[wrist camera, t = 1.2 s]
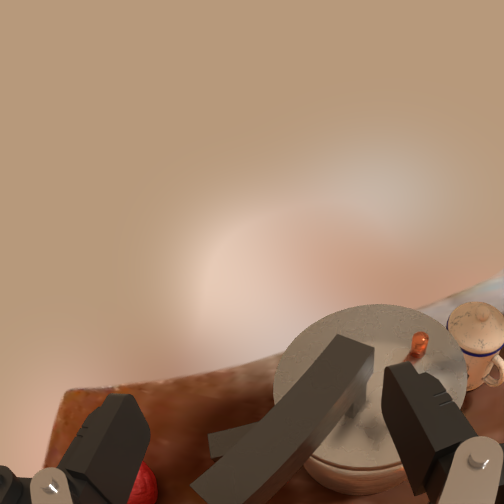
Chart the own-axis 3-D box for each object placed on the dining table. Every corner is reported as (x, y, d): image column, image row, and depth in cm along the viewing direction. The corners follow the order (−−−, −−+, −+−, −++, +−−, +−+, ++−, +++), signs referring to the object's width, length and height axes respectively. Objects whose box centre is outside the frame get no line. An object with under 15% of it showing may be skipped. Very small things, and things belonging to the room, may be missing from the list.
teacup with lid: (424, 362, 37) (436, 303, 31) (467, 335, 38) (482, 277, 32) (467, 419, 27) (497, 368, 21) (510, 385, 27) (541, 328, 21)
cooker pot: (396, 357, 40) (402, 297, 34) (457, 450, 24) (492, 404, 18) (227, 419, 38) (195, 371, 33) (251, 534, 23) (213, 521, 17)
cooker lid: (341, 297, 37) (333, 232, 32) (482, 340, 24) (503, 269, 19) (180, 459, 23) (126, 411, 18) (344, 581, 10) (346, 597, 5)
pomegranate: (177, 510, 27) (138, 492, 22) (117, 529, 24) (71, 511, 19) (155, 455, 35) (119, 425, 30) (101, 475, 32) (61, 448, 27)
